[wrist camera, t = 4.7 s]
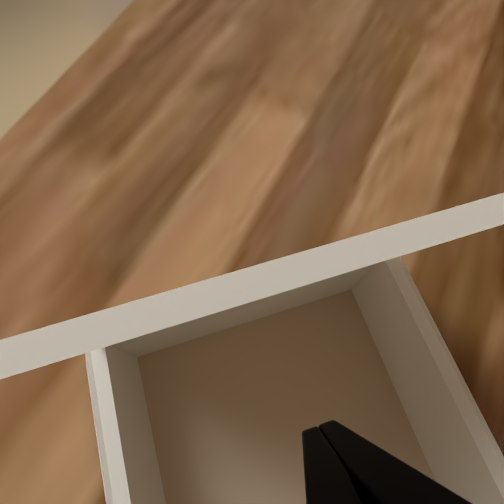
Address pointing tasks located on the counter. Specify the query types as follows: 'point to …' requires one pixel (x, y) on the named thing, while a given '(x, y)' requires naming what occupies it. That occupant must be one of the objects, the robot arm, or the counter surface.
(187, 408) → the carton
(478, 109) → the counter surface
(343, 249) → the carton flap
